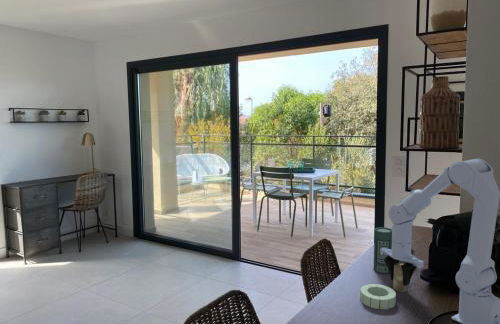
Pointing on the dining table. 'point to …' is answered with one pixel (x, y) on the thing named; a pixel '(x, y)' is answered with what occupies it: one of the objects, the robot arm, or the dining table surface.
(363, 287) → the pale green segmented ring
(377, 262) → the can
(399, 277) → the beige cylinder
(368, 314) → the dining table surface
